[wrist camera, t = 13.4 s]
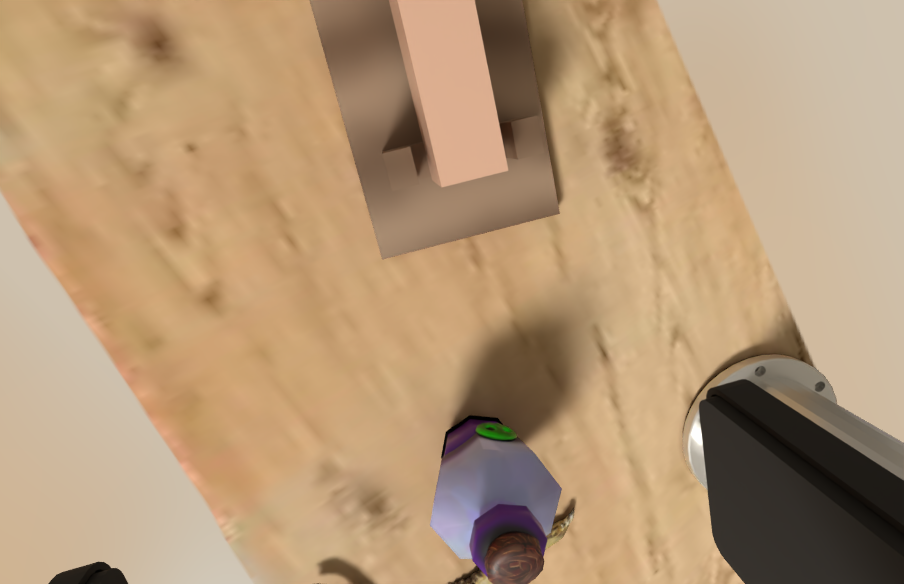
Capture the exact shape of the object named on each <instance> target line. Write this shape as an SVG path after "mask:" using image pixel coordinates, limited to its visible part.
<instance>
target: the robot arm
mask: <svg viewBox="0 0 904 584" xmlns="http://www.w3.org/2000/svg"><path fill="white" fill-rule="evenodd" d="M683 453H684V457H685V461H686V463H687V465H688V467H689V469H690V471H691V473H692V474H693V475H694V477H695V478H696V479H697V480H698V481H699V482H700V483H701V484H702V485H703V486H704V487H705V488H706V489H707V490H708V498H709V507H710V516H711V525H712V533H713V537H714V540H715V543H716V545H717V548H718V549H719V551H720V553H721V555H722V556H723V557H724V559H725V560H726V561H727V562H728V564H729V565H730V566H731V567H732V568H733V570H734V571H735V572H736V573H737V574H738V576H739V577H740V578H741V579H742V581H743V582H744V583H745V584H904V443H903V442H901V441H900V440H898V439H896V438H894V437H893V436H891V435H889V434H887V433H886V432H884V431H882V430H880V429H879V428H877V427H875V426H874V425H872V424H870V423H868V422H867V421H865V420H863V419H861V418H860V417H858V416H856V415H854V414H853V413H851V412H849V411H848V410H845V409H844V408H842V407H840V406H839V405H837V400H836V397H835V394H834V391H833V388H832V386H831V385H830V384H829V382H828V380H827V379H826V378H825V376H824V375H823V374H821V373H820V372H819V371H818V370H817V369H816V368H814V367H812V366H810V365H809V364H807V363H805V362H803V361H801V360H799V359H796V358H793V357H791V356H785V355H778V354H772V355H760V356H756V357H752V358H748V359H745V360H743V361H741V362H738V363H736V364H734V365H732V366H731V367H729V368H727V369H726V370H724V371H723V372H721V373H720V374H718V375H717V376H716V377H715V378H714V379H713V380H712V381H710V382H709V383H708V384H707V386H706V387H705V388H704V389H703V390H702V392H701V393H700V394H699V395H698V397H697V398H696V400H695V402H694V403H693V405H692V407H691V408H690V411H689V413H688V416H687V419H686V421H685V426H684V431H683ZM49 584H128V582H127V581H126V579H125V577H124V575H123V573H122V572H121V571H120V570H119V569H117V568H111V567H110V566H109V565H108V564H106V563H104V562H96V563H93V564H90V565H86V566H83V567H79V568H75V569H72V570H68V571H65V572H62V573H60V574H57V575H56V576H55V577H54V578H53V579H52V580H51V581H50V583H49Z"/></svg>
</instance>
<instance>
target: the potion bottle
mask: <svg viewBox="0 0 904 584" xmlns="http://www.w3.org/2000/svg"><path fill="white" fill-rule="evenodd" d="M441 458H442V461H441V466H440V472H439V477H438V482H437V487H436V492H435V499H434V505H433V511H432V517H431V523H430V526H431V527H432V528H433V529H434V530H435V531H436V533H437V534H438V535H439V536H440V537H441V538H442V539H443V540H444V541H445V543H446V544H447V545H448V546H449V547H450V548H451V549H452V550H453V551H454V552H455V554H456V555H457V556H458V557H459V558H460V559H472V560H473V562H474V563H475V564H476V565H477V566H478V567H479V568H480V569H481V571H482V572H483V573H484V574H485V575H486V576H487V577H488V580H489V581H490V582H491V583H492V584H528V583H530V582H531V581H532V580H534V579H535V578H536V577H537V576H538V575H539V574H540V572H541V571H542V570H543V566H544V559H543V556H544V552H545V548H546V544H547V540H548V539H547V537H546V536H547V535H548V534H549V533H551V529H552V525H553V521H554V518H555V514H556V510H557V506H558V502H559V498H560V494H561V490H562V488H561V487H560V486H559V484H558V483H557V482H556V481H555V479H554V478H553V477H552V475H551V474H550V473H549V472H548V470H547V469H546V468H545V466H544V465H543V464H542V462H541V461H540V460H539V459H538V457H537V456H536V455H535V453H534V452H533V451H532V450H530V449H529V448H528V447H527V446H526V445H525V444H524V443H523V442H522V441H521V440H520V439H519V438H518V437H517V435H516V433H515V432H514V431H513V430H512V429H510V428H509V427H507V426H505V425H503V424H502V423H501V421H500V420H499V419H498V418H492V417H481V416H471V415H470V416H468V417H467V418H465V419H464V420H462V421H461V422H460V423H458V424H457V425H455V426H454V427H452V428H451V429H450V430H448V431H447V432H446V434H445V440H444V445H443V450H442V456H441Z"/></svg>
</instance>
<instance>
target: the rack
mask: <svg viewBox="0 0 904 584" xmlns="http://www.w3.org/2000/svg"><path fill="white" fill-rule="evenodd" d="M310 4H311V7H312V11H313V14H314V18H315V21H316V25H317V29H318V32H319V36H320V39H321V43H322V46H323V50H324V53H325V57H326V61H327V64H328V68H329V71H330V75H331V78H332V82H333V86H334V89H335V93H336V96H337V100H338V103H339V107H340V110H341V114H342V118H343V121H344V125H345V128H346V132H347V135H348V139H349V143H350V146H351V150H352V153H353V157H354V160H355V164H356V168H357V171H358V175H359V178H360V182H361V185H362V189H363V192H364V196H365V200H366V203H367V207H368V210H369V214H370V217H371V221H372V225H373V228H374V232H375V235H376V239H377V242H378V246H379V249H380V253H381V257H382V259H386V258H390V257H394V256H398V255H402V254H406V253H409V252H413V251H417V250H421V249H425V248H429V247H433V246H436V245H440V244H444V243H448V242H452V241H456V240H460V239H463V238H467V237H471V236H475V235H479V234H483V233H487V232H490V231H494V230H498V229H502V228H506V227H510V226H514V225H517V224H521V223H525V222H529V221H533V220H537V219H541V218H545V217H548V216H552V215H556V214H560V212H559V207H558V201H557V195H556V190H555V184H554V178H553V172H552V167H551V161H550V155H549V150H548V144H547V138H546V132H545V127H544V121H543V115H542V110H541V104H540V98H539V92H538V87H537V81H536V75H535V69H534V64H533V58H532V52H531V47H530V41H529V35H528V29H527V24H526V18H525V12H524V7H523V1H522V0H475V5H476V10H477V15H478V20H479V25H480V30H481V35H482V40H483V45H484V50H485V55H486V60H487V65H488V70H489V75H490V80H491V85H492V90H493V95H494V100H495V105H496V110H497V115H498V120H499V126H500V131H501V136H502V141H503V146H504V151H505V156H506V161H507V166H508V171H505V172H501V173H497V174H493V175H489V176H485V177H481V178H477V179H473V180H469V181H465V182H461V183H457V184H453V185H450V186H446V187H440V186H439V185H438V184H436V183H435V182H434V181H432V177H431V173H430V169H429V165H428V161H427V157H426V152H425V148H424V144H423V140H422V136H421V132H420V127H419V123H418V119H417V115H416V111H415V107H414V103H413V98H412V94H411V90H410V86H409V82H408V78H407V74H406V69H405V65H404V61H403V57H402V53H401V49H400V45H399V40H398V36H397V32H396V28H395V24H394V20H393V15H392V11H391V7H390V3H389V0H310Z"/></svg>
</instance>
